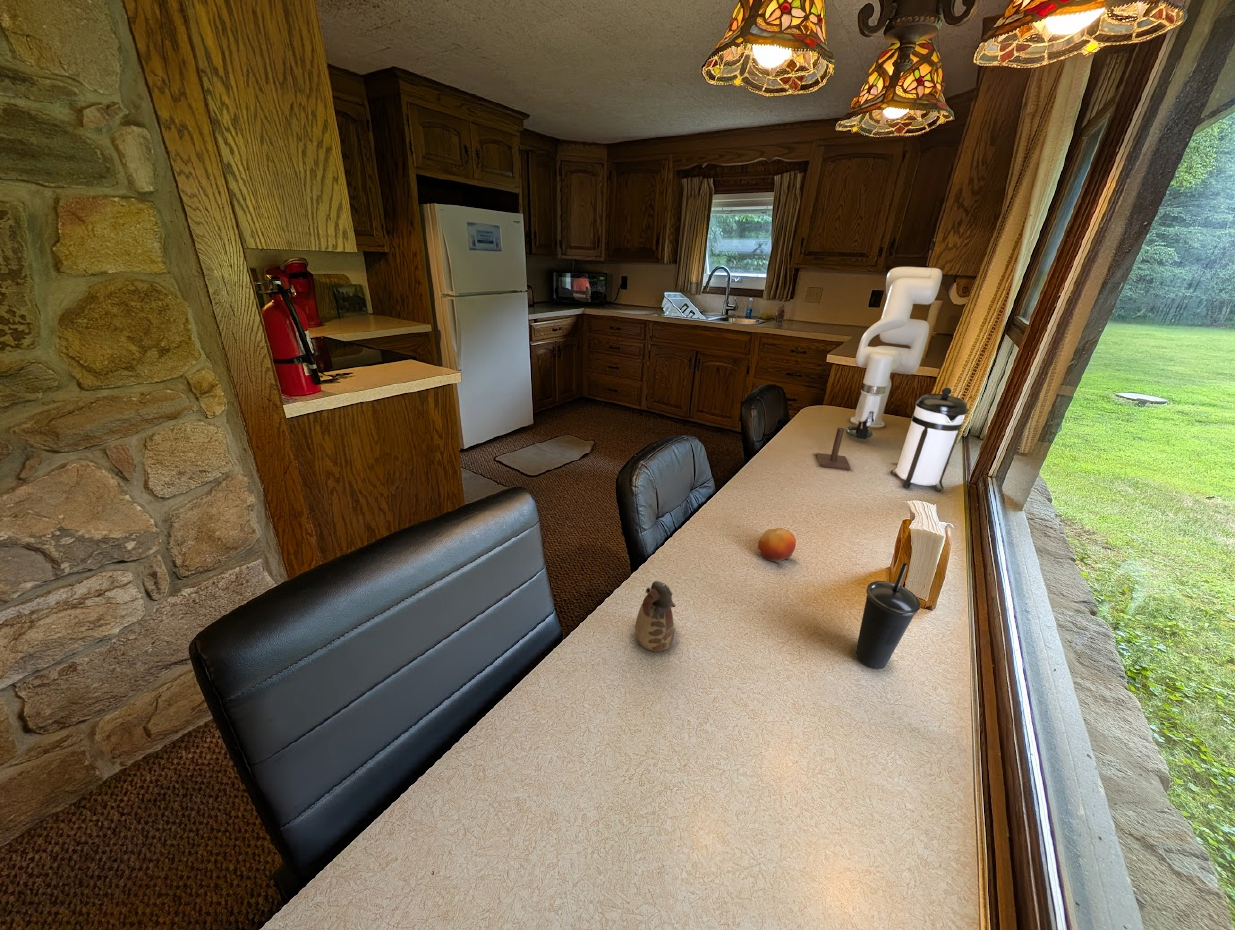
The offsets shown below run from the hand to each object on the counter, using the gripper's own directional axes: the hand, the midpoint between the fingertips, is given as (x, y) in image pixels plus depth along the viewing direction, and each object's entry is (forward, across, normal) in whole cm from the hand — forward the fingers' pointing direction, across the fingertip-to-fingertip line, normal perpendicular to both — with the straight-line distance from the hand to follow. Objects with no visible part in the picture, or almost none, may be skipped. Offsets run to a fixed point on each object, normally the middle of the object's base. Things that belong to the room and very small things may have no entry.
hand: (860, 436), depth 169 cm
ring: (0, -4, 0) cm, 4 cm away
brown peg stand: (+2, +22, -12) cm, 25 cm away
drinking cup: (0, +108, -18) cm, 110 cm away
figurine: (-1, +114, -55) cm, 127 cm away
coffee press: (+2, +28, +10) cm, 30 cm away
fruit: (0, +82, -33) cm, 88 cm away
